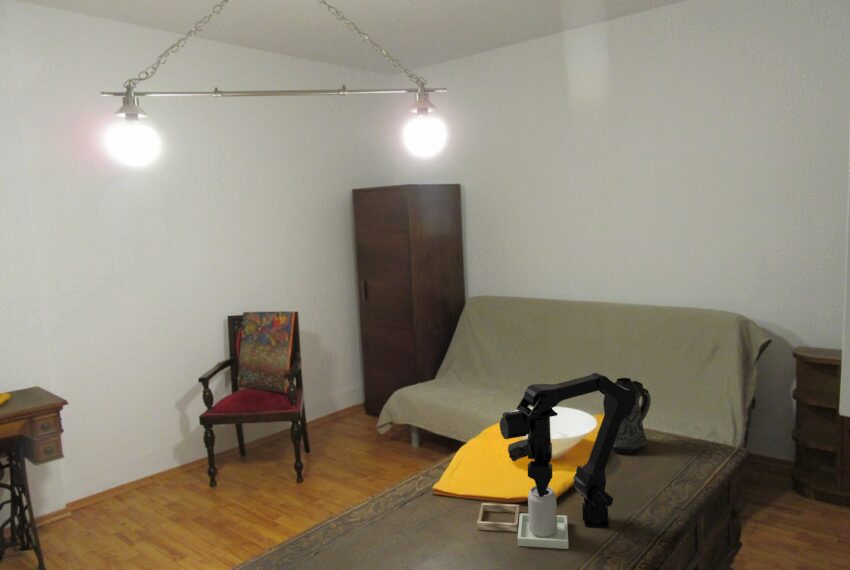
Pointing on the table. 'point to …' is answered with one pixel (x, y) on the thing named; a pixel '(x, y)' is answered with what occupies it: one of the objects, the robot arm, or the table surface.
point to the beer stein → (633, 421)
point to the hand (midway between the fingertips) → (541, 488)
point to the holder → (498, 525)
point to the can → (542, 513)
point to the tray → (534, 541)
